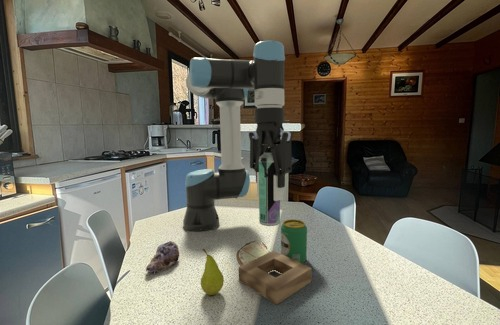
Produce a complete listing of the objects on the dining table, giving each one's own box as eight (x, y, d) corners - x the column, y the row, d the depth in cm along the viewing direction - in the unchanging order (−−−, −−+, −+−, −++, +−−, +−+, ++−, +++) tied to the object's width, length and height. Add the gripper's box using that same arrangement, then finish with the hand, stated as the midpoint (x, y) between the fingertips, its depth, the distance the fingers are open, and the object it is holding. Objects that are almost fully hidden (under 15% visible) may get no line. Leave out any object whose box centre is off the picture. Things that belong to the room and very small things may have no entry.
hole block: (238, 280, 75) (238, 266, 74) (273, 262, 84) (273, 250, 83) (276, 305, 64) (276, 289, 64) (311, 281, 74) (311, 268, 73)
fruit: (227, 295, 68) (226, 250, 67) (206, 303, 65) (204, 256, 64) (217, 284, 73) (216, 241, 71) (197, 291, 70) (195, 247, 68)
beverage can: (276, 256, 88) (276, 221, 86) (297, 251, 91) (297, 217, 89) (289, 268, 81) (289, 230, 79) (311, 262, 84) (312, 225, 82)
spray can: (278, 226, 69) (278, 148, 66) (257, 225, 70) (256, 148, 67) (281, 219, 74) (281, 146, 72) (261, 218, 75) (260, 146, 73)
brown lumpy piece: (155, 279, 76) (153, 258, 75) (136, 272, 80) (135, 252, 79) (184, 260, 86) (183, 241, 86) (167, 254, 90) (166, 237, 89)
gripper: (234, 109, 73) (236, 193, 76) (287, 104, 59) (287, 208, 62) (255, 110, 78) (256, 189, 81) (308, 105, 64) (307, 201, 67)
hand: (269, 197), depth 71 cm, fingers closed on spray can, 5 cm apart
